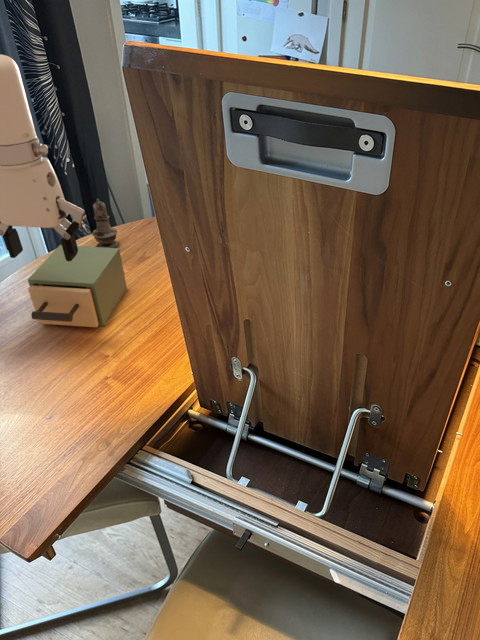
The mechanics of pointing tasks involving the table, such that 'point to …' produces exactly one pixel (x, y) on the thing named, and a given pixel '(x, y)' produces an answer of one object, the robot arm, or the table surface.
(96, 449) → the table surface
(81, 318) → the drawer
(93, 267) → the cabinet
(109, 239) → the brown carved figurine
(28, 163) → the robot arm
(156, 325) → the table surface
